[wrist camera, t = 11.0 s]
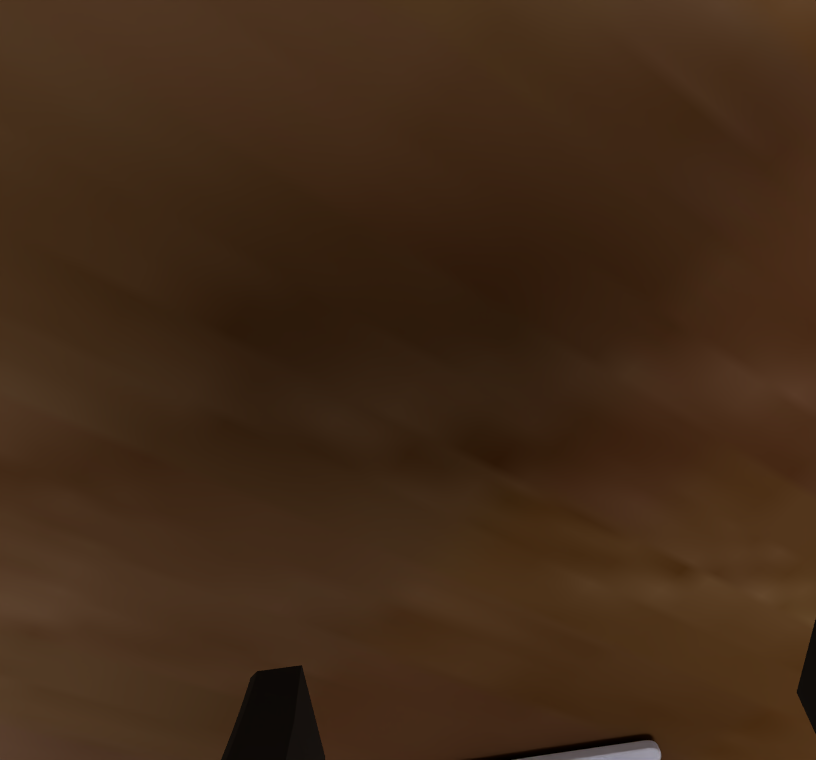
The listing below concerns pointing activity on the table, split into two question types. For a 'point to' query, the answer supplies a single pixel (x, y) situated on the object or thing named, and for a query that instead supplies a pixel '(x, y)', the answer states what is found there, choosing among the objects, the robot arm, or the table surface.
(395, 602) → the table surface
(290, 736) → the robot arm
